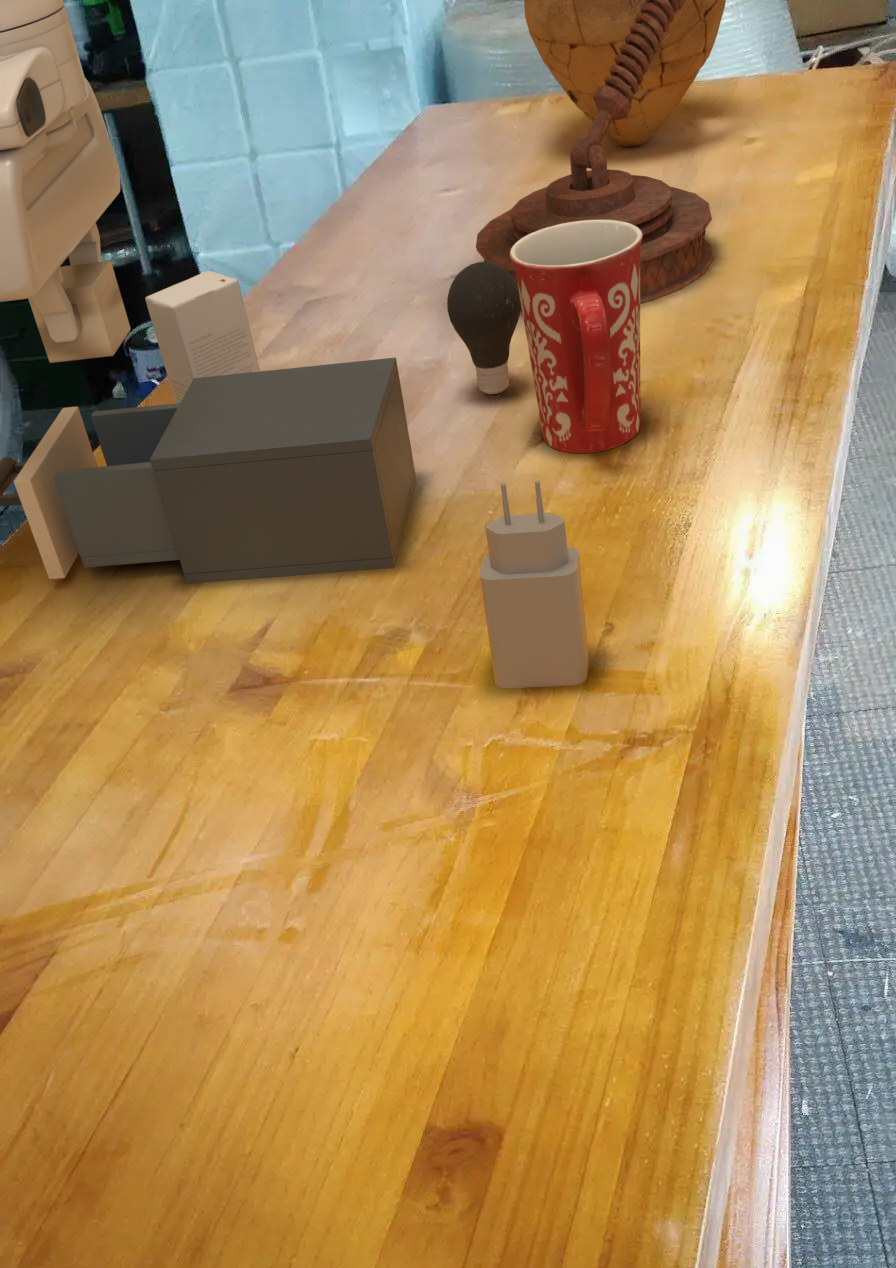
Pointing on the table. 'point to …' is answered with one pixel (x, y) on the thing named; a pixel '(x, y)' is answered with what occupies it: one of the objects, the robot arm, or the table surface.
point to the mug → (583, 330)
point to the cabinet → (288, 472)
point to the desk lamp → (617, 183)
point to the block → (89, 314)
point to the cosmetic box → (202, 330)
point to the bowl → (590, 39)
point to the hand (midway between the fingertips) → (81, 320)
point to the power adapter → (533, 600)
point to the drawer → (95, 490)
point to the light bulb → (486, 320)
